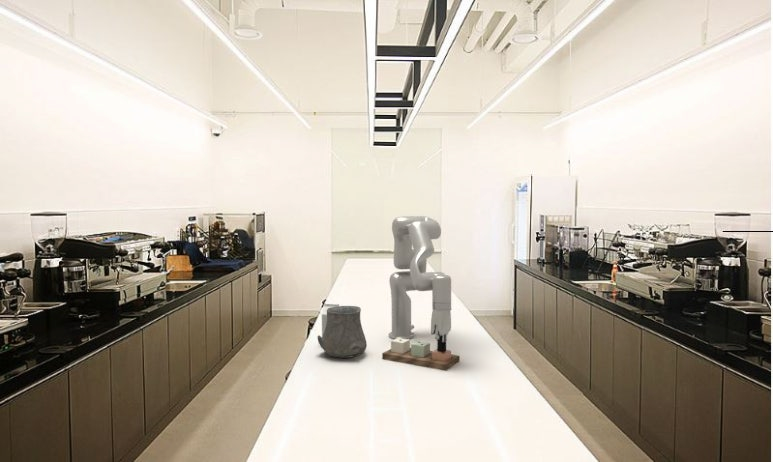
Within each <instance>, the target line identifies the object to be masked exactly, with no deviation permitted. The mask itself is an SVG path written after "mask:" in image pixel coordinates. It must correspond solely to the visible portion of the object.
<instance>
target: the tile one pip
mask: <svg viewBox="0 0 773 462" xmlns="http://www.w3.org/2000/svg"><path fill="white" fill-rule="evenodd" d="M410 348H411V340H410V339H402V338H397V339H392V340H391V341H390V349H391V352H395V353H400V354H404V353H406V352H408V351H410Z"/></svg>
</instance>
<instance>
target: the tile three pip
mask: <svg viewBox="0 0 773 462" xmlns="http://www.w3.org/2000/svg"><path fill="white" fill-rule="evenodd" d="M432 351H433V352H432V359H433V360H439V361H444V362H446V361H448V360H449V359H451V354H452V350H450V349H446V351H445V352H440V351H437V349H435V350H432Z"/></svg>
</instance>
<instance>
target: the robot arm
mask: <svg viewBox="0 0 773 462" xmlns="http://www.w3.org/2000/svg"><path fill="white" fill-rule="evenodd" d="M391 231H392V234H393V235H392V237H393V239H394V240H393V242H394V243H393V244H394V247H393V266H394V268H395V269H397V270H401V271H395V272H393V273H391V274H390V276H389V281H388V283H389V287H390V294H391V331H390V332H389V333H388V337H389V339H392V340H395V339H397V338H402V339H408V340H410V339H413V338H414V337H415V333H414V332H413V330H414V329H415V325H414V324H412V299H411V297H410V295H408V293H407V292H411V291H417V292H428V291H431V293H432V296H431V297H432V301H431V305H432V307H431V308H432V309H431V310H432V311H431V318H430V319H431V321H430V334H431V335H432V336H434V339H435V340H436V342H437V344H436V345H437V346H436V347H437V351H440V352H445V351H446V350H447V340H448V335H449V333H450V332H451V330H452V314H451V310H452V278H451V276H450V275H448V274H445V272H442V271H434V272H432V271H430V272H429V271H428V272H427V262H428V261H427V259H429V258H430V257H431V256H433V255H434V253H435V247H434V245H433V241H432V240H437V239H439V238H440V237H441V234H442V228H441V225H440V223H439V222H438V221H437V220H435V219H434V218H432V217H429V216H427V215H426V216H424V215H421V216H419V215H418V216H415V215H412V216H411V215H410V216H409V215H407V216H405V215H404V216H397V217H395V218H394V219H393V220H392V223H391ZM402 270H403V271H402Z"/></svg>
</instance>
